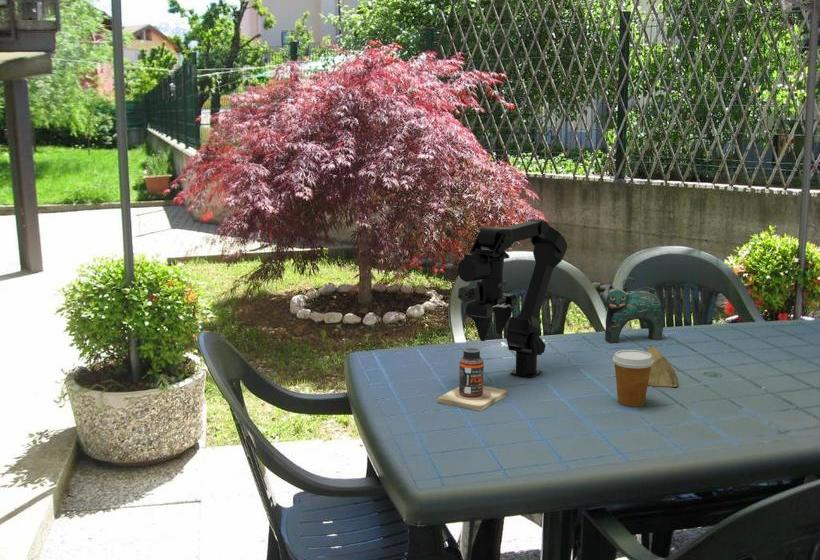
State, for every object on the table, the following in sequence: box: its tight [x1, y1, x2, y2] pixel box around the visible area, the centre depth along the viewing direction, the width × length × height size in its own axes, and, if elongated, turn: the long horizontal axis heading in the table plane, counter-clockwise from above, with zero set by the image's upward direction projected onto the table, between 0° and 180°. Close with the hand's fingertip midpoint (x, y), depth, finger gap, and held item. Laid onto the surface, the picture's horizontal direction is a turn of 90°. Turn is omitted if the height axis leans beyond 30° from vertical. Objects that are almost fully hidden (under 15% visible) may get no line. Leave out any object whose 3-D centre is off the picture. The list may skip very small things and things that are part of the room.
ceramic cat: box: [602, 277, 666, 344], centre depth 267 cm, size 20×6×20 cm, turn 102°
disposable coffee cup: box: [612, 349, 653, 407], centre depth 210 cm, size 10×10×12 cm
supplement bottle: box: [458, 347, 485, 397], centre depth 213 cm, size 6×6×11 cm
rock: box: [646, 346, 679, 388], centre depth 224 cm, size 10×8×10 cm
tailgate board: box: [436, 385, 509, 412], centre depth 215 cm, size 15×12×1 cm
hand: (490, 337), depth 222 cm, fingers open, 9 cm apart
